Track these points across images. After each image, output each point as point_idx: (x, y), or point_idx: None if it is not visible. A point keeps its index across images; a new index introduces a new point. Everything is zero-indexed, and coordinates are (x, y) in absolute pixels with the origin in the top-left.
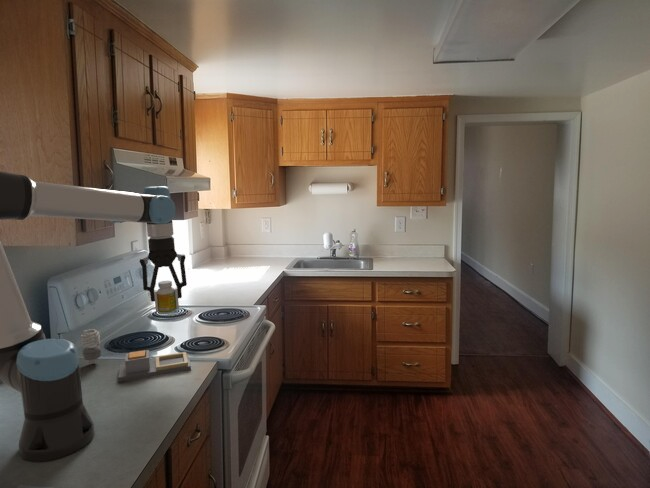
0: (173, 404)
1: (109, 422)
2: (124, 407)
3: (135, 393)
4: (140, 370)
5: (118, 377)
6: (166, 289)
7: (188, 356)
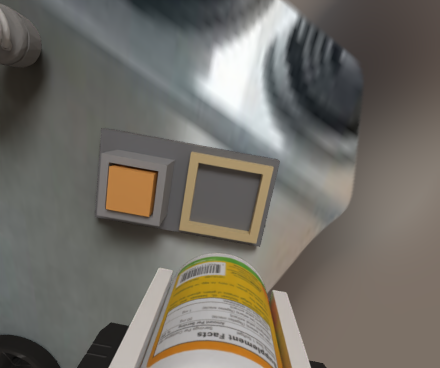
0: None
1: None
2: None
3: (130, 284)
4: None
5: (95, 216)
6: None
7: (273, 183)
